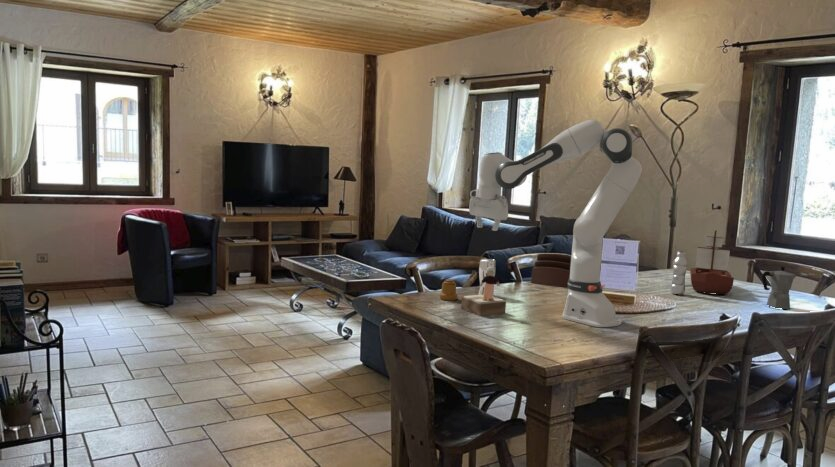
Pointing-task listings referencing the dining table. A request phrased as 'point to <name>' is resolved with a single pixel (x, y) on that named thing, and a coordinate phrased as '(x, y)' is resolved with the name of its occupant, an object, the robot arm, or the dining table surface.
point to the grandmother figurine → (489, 284)
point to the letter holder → (552, 270)
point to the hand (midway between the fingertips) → (487, 229)
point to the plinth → (483, 305)
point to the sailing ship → (712, 268)
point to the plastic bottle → (679, 273)
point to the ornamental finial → (448, 290)
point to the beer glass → (482, 271)
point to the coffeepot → (779, 288)
